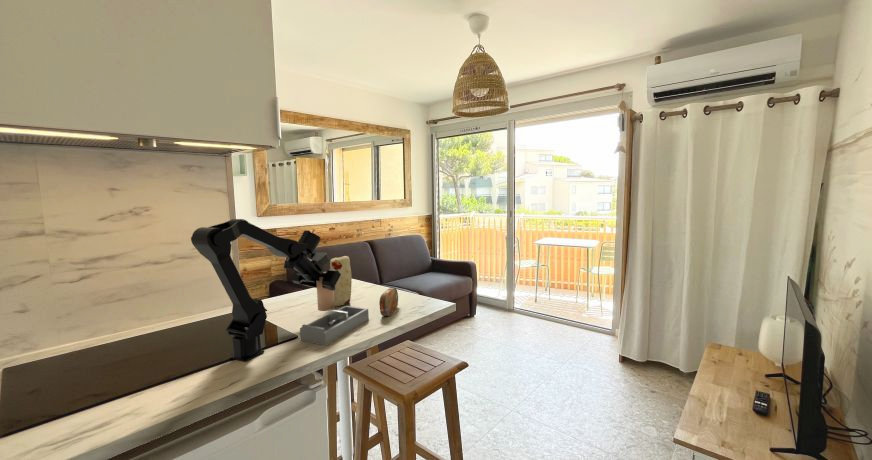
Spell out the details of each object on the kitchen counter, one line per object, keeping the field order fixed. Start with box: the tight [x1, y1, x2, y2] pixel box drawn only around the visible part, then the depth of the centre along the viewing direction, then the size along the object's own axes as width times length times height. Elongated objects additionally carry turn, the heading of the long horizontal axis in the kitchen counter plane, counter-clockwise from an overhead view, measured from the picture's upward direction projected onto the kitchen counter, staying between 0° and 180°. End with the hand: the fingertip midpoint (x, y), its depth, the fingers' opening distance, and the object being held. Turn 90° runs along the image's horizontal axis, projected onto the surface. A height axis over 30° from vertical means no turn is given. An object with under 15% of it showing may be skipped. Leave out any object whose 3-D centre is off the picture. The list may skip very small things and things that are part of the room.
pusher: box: [327, 309, 348, 326], centre depth 121 cm, size 5×7×5 cm
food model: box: [329, 255, 353, 307], centre depth 147 cm, size 10×7×20 cm
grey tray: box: [299, 305, 370, 346], centre depth 122 cm, size 23×10×5 cm, turn 157°
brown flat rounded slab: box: [379, 287, 399, 317], centre depth 138 cm, size 15×3×8 cm, turn 168°
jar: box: [316, 271, 336, 312], centre depth 133 cm, size 6×6×13 cm
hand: (328, 288), depth 134 cm, fingers closed on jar, 6 cm apart
